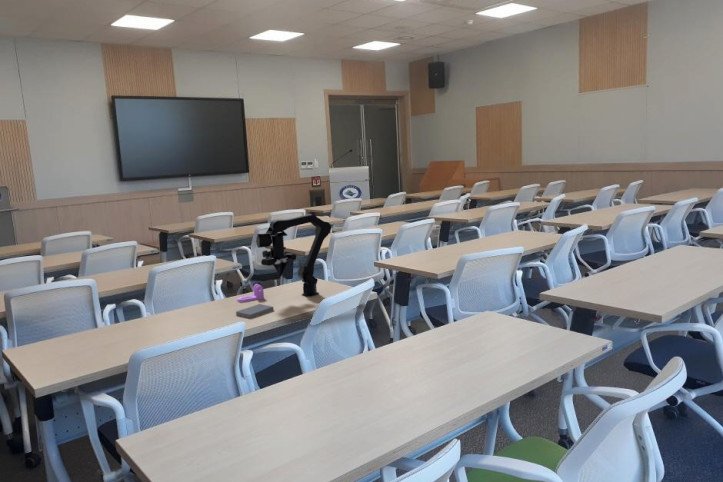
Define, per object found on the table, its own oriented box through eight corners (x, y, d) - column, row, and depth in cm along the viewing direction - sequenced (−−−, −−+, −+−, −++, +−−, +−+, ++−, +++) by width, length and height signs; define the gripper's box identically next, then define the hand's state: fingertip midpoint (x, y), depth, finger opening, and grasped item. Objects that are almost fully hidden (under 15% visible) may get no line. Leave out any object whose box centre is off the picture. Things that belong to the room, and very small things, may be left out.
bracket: (261, 296, 294) (260, 283, 293) (264, 298, 289) (262, 285, 288) (236, 300, 289) (235, 287, 288) (238, 303, 284) (237, 289, 283)
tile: (259, 303, 272) (235, 311, 261) (273, 306, 266) (249, 314, 255) (259, 308, 272) (236, 316, 262) (273, 311, 266) (250, 319, 255)
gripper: (280, 241, 292) (283, 271, 294) (252, 247, 278) (255, 278, 280) (296, 242, 285) (298, 273, 287) (267, 248, 271) (270, 280, 273)
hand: (280, 276), depth 282 cm, fingers closed
